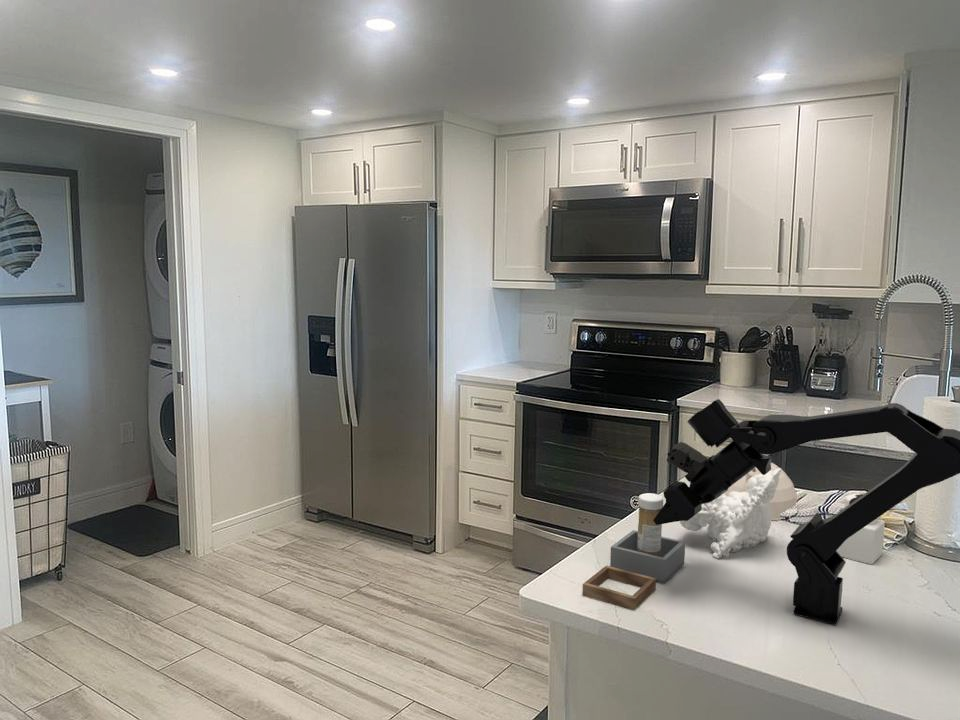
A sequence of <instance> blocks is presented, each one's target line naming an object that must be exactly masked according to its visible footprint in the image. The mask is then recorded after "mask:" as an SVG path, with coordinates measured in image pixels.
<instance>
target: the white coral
mask: <svg viewBox="0 0 960 720" xmlns="http://www.w3.org/2000/svg"><path fill="white" fill-rule="evenodd" d="M781 470H783V469H782V468H781V467H779V469H775V470H773V471H769V472H768V473H767V474H765V475H762V474H761V473H760V474H758V475H755V476H753V477H751V478H750V479H749V480H748V481H747V483H746V485H745V491H746V492H737V491H733V492H730V493H729V496H727V497H726V495H725V494H722V495H721V496H719V497H718V498H717V499H715V500H713V501H712V502H709V503H705V504H703V505H704V506H702V510H701V511H700V512H698V513H697V514H696V515H694V516H693V517H692V518H690V519H689V520H688V521H679V524H680V526H682V527H683V528H684V529H686V530H688V531H692V532H697V531H700V530H701V529H703V528H705V527H706V529H707V532H708V534H709V535H710V537H711V539H712V540H713V539H714V541H713V542H712V543H711V544H710V549H711V550H712V551H713V553H712V557H713V558H714V559H717V560H718V559H722V557H725V558H727V557H730V552H732V553H737V552H739V551H740V550H741V549H748V548H749V547H751V548H754V547H756V546H757V545H758V544H759V543H763V542H766V540H767V539H766V538H767V537H768V535H769V530H770V529H771V525H772V521H771V518H772V513H771V509H770V507H769V506H768V505H766V504H761V503H768V502H769V501H770V500H771V499H773V497H774V495H775V491H776V488H777V485H778V482H779V476H780V473H781Z"/></svg>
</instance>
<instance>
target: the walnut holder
mask: <svg viewBox="0 0 960 720" xmlns="http://www.w3.org/2000/svg"><path fill="white" fill-rule="evenodd" d="M608 579H609V580H613V581H615V582H621V583H625V584H628V585H631V586H635V587H639V588H638V590H637V591H636V592H635V593H633V595H631V594H628V593H624V592H620V591H617V590H614V589H610V588H606V587H603V586H601V585H602V584H604V582H606V581H607V580H608ZM656 589H657V582H656V578H653V577H649V576H645V575H641V574H637V573H634V572H630V571H626V570H622V569H618V568H614V567H610V565H605V566H603V567H602V568H601V569H600V570H599V571H597V572H596V573H595V574H593V575H592V576H591V577H590V578H589V579H587V580H586V581H585V582H584V583H582V594H581V595H582V596H585V597H588V598H591V599H596V600H598V601H602V602H605V603H608V604H609V603H610V604H612V605H616V606H619V607H621V608H622V607H623V608H626V609H629V610H633V611H636V609H637V608H639V606H640V605H642V604H643V602H645V600H646V599H648V598H649V597H650V595H652V594H653V592H655V591H656Z"/></svg>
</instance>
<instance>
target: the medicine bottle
mask: <svg viewBox="0 0 960 720" xmlns="http://www.w3.org/2000/svg"><path fill="white" fill-rule="evenodd" d="M864 494H865V493H864ZM864 494H863V493H852V494H847V495H846V496H845V498H844V507H843V509H844V508H845V507H847V506H848V505H849V504H851V503H852V502H854V501H855V500H857V499H858V498H859V497H861V496H862V495H864ZM885 525H886V522H885V520H883V519H879V517H878V518H877V519H875V520H874V521H872V522H871V523H869V524H868V525H867V526H865V527H864V528H862V529H861V530H859V531H858V532H856V533H855V534H853V535H852V536H851V537H849V538H848V539H846V540H845V541H844V543H843V544H842V545H841V546H840V547H839V548H838V549H837V550H836V551H837V552H838V553H839V555H840V556H841V557H842V558H843V559H849V560H852V561H856V562H860V563H864V564H868V565H873V564H874V563H875V562H876V561H877V560H878V559H879V558H880V557H881V556H882V554H883V549H884V539H885V538H884V537H885Z"/></svg>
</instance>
